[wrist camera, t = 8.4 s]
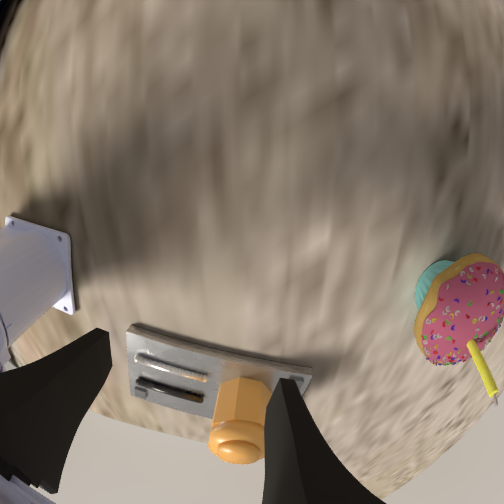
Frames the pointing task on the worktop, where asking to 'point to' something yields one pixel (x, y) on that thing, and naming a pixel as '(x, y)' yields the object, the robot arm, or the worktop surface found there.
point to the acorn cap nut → (239, 421)
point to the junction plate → (195, 371)
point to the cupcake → (460, 312)
